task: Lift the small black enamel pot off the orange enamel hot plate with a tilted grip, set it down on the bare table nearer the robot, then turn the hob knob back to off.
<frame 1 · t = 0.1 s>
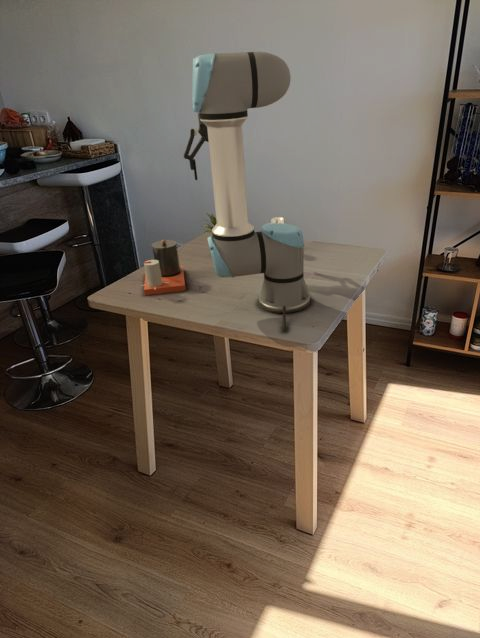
hand: (215, 177, 170), 28 cm above the table, tool pointing down, fingers open, 13 cm apart
hot plate: (165, 282, 163), on the table
enamel pot: (168, 271, 165), point 2 cm above the table, touching burner
wineglass: (278, 250, 185), on the table
hob knob: (153, 272, 154), point 6 cm above the table, hinge at 90.0°
burner: (168, 272, 165), resting on hot plate
house plant: (220, 251, 187), on the table
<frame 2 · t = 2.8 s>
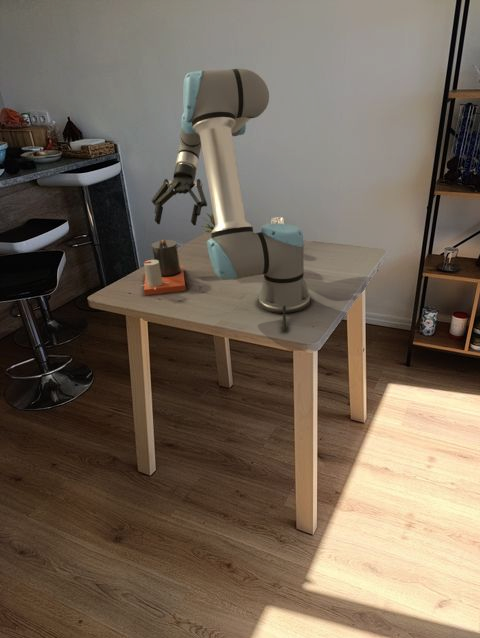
hand: (175, 223, 167), 16 cm above the table, tool tilted 45°, fingers open, 13 cm apart
nothing on the table moved.
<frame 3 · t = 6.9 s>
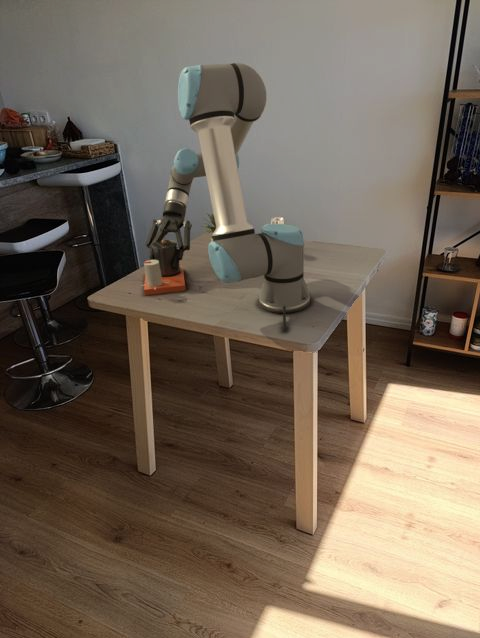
hand: (163, 267, 161), 5 cm above the table, tool tilted 45°, fingers closed on enamel pot, 8 cm apart
enamel pot: (168, 271, 165), point 2 cm above the table, touching burner, gripper
everything else where it was.
when the fingers open (3 cm above the table, at t = 16.5 s): enamel pot stays where it is, on the table.
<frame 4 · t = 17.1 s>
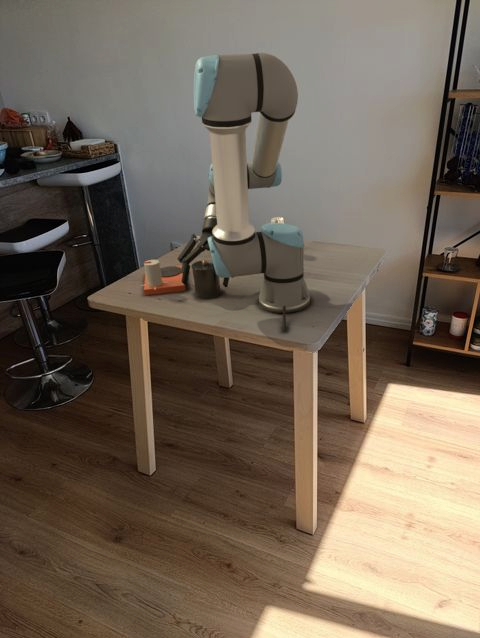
hand: (204, 284, 149), 4 cm above the table, tool tilted 45°, fingers open, 13 cm apart
enamel pot: (208, 293, 153), on the table
everything else where it was.
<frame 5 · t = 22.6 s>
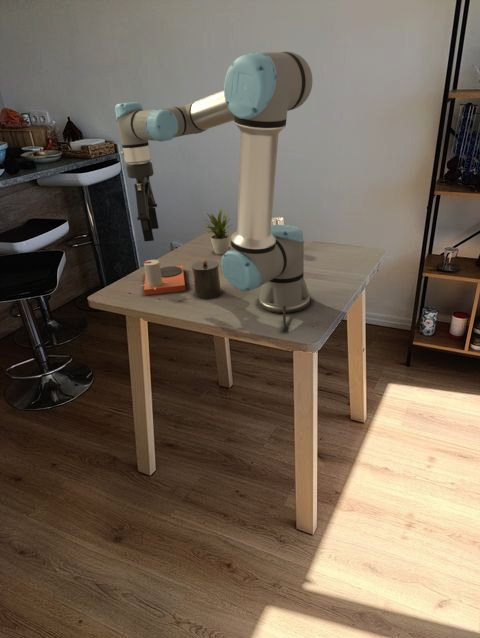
hand: (151, 234, 149), 18 cm above the table, tool pointing down, fingers open, 13 cm apart
nothing on the table moved.
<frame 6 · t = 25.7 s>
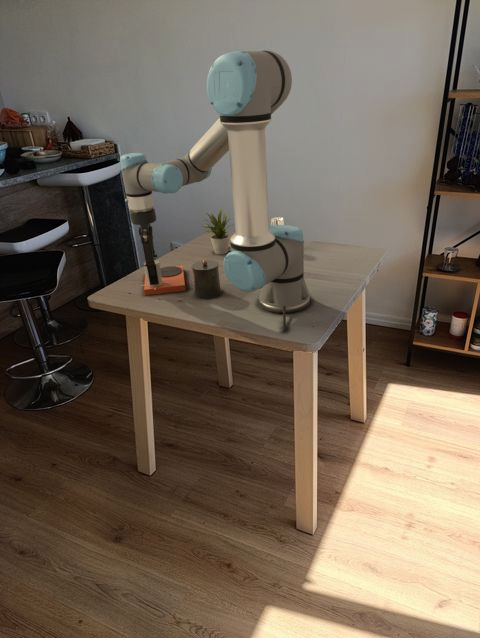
hand: (154, 280, 156), 3 cm above the table, tool pointing down, fingers closed on hob knob, 5 cm apart
hob knob: (153, 272, 154), point 6 cm above the table, hinge at 90.0°, touching gripper
everything else where it was.
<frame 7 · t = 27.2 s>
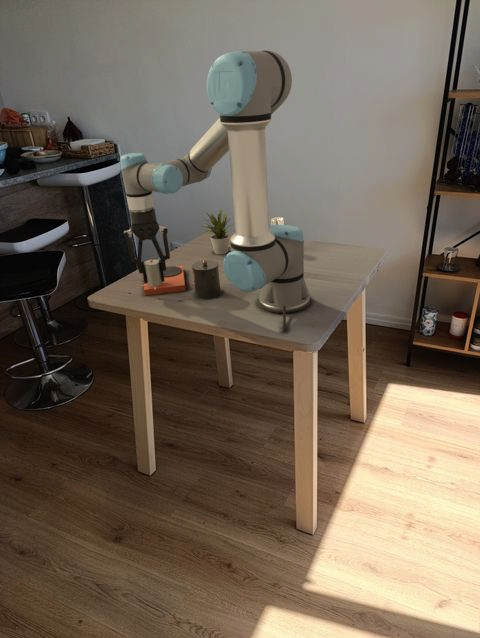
hand: (154, 280, 156), 3 cm above the table, tool pointing down, fingers closed on hob knob, 5 cm apart
hob knob: (153, 272, 154), point 6 cm above the table, hinge at 0.7°, touching gripper
everything else where it was.
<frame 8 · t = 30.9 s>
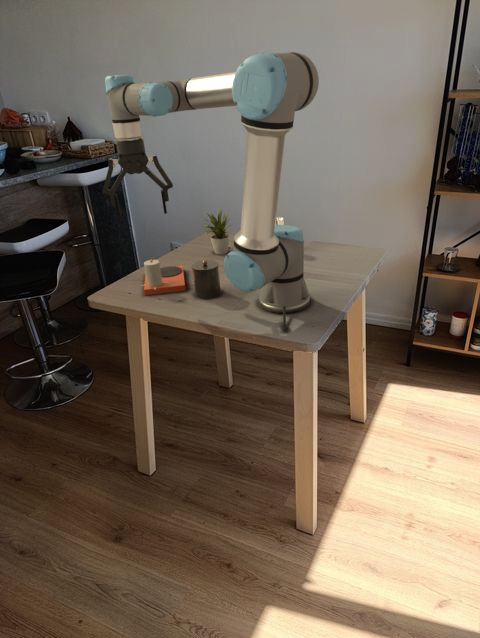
hand: (142, 214, 145), 25 cm above the table, tool pointing down, fingers open, 13 cm apart
hob knob: (153, 272, 154), point 6 cm above the table, hinge at 0.9°
everything else where it was.
at the end: enamel pot inside the target area (0.1 cm from its centre), on the table; enamel pot tilted 0°; hob knob at +1° (first picture: +90°) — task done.
